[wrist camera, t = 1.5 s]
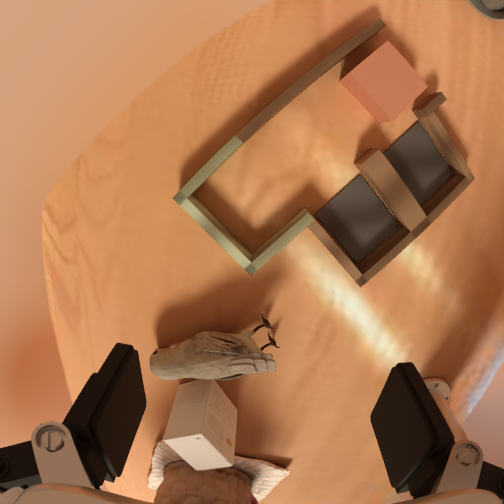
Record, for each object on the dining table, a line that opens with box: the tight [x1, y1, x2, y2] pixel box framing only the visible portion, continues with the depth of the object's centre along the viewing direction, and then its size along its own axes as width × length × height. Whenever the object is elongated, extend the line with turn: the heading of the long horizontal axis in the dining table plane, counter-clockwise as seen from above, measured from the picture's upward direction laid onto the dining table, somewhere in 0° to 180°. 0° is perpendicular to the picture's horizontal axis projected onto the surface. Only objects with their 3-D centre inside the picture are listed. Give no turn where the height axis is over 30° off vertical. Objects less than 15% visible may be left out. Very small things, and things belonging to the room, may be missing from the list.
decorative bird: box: [150, 315, 280, 380], centre depth 34 cm, size 5×16×8 cm, turn 107°
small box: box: [163, 379, 238, 471], centre depth 36 cm, size 8×6×10 cm
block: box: [340, 41, 428, 123], centre depth 25 cm, size 6×6×4 cm
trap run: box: [173, 18, 475, 287], centre depth 29 cm, size 20×28×2 cm
